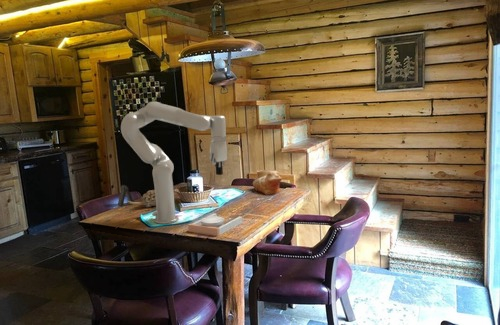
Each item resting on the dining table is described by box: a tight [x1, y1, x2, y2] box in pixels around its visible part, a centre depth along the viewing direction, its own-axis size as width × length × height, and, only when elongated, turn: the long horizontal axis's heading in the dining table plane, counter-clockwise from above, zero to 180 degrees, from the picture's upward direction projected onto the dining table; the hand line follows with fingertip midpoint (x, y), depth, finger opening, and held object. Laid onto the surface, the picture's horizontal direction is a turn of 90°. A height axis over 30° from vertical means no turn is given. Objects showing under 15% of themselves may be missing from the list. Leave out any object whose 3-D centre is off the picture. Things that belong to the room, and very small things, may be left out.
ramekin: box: [200, 215, 224, 228], centre depth 192 cm, size 11×11×5 cm
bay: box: [187, 212, 243, 237], centre depth 196 cm, size 17×22×4 cm
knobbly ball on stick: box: [126, 189, 156, 208], centre depth 238 cm, size 22×10×10 cm, turn 130°
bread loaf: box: [252, 169, 283, 196], centre depth 267 cm, size 14×26×15 cm, turn 30°
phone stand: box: [117, 184, 135, 208], centre depth 248 cm, size 9×6×12 cm, turn 123°
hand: (219, 174), depth 209 cm, fingers closed
